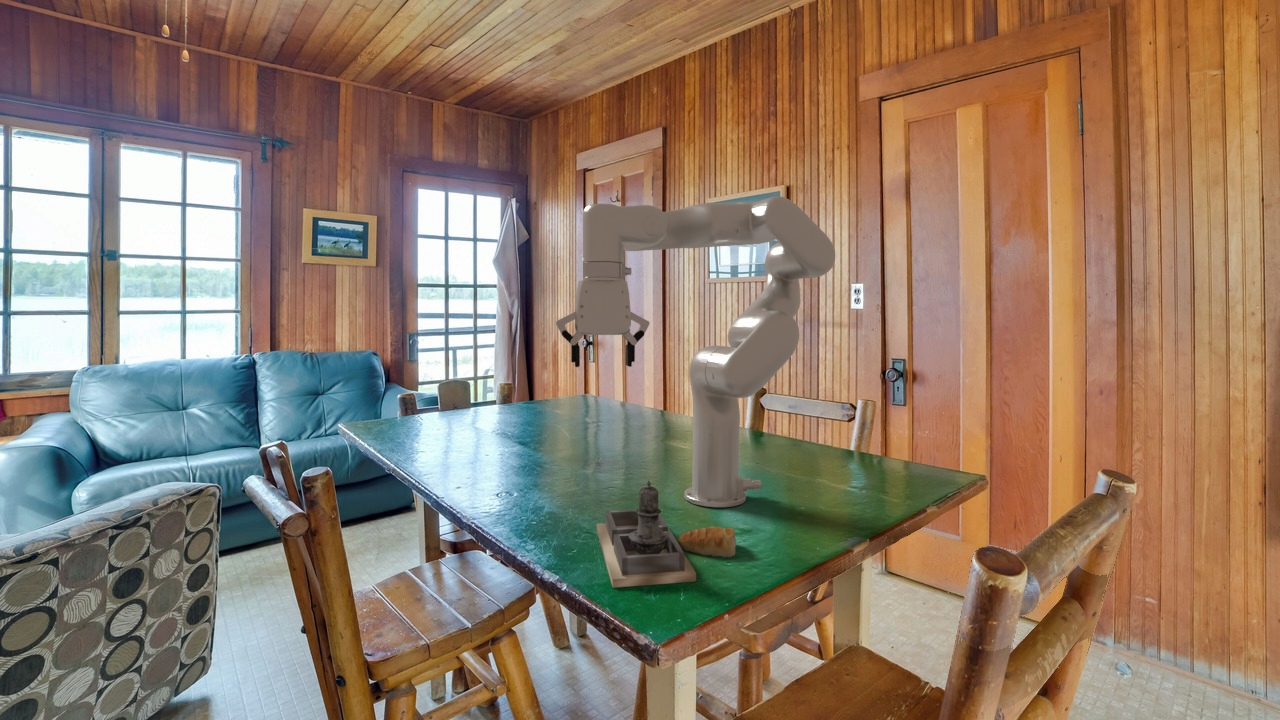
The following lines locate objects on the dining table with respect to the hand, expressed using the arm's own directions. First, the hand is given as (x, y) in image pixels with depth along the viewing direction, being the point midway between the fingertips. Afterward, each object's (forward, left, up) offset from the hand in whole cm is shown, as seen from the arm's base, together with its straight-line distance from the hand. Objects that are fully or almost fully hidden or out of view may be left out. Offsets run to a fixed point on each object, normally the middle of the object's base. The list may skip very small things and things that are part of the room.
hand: (603, 366), depth 109 cm
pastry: (-16, +19, -29) cm, 38 cm away
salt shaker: (-4, +24, -27) cm, 37 cm away
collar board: (-4, +19, -28) cm, 34 cm away
